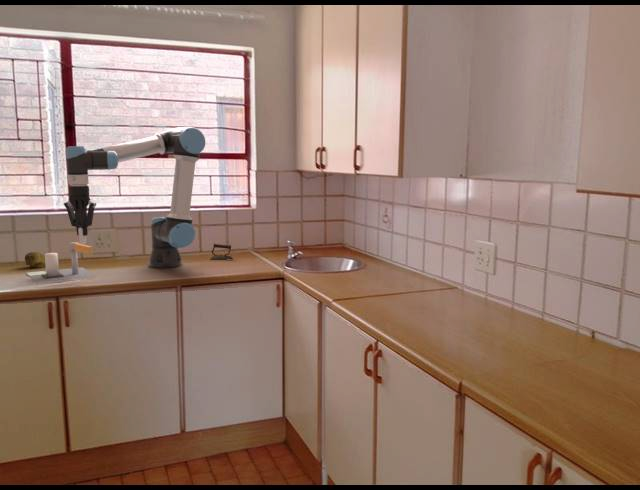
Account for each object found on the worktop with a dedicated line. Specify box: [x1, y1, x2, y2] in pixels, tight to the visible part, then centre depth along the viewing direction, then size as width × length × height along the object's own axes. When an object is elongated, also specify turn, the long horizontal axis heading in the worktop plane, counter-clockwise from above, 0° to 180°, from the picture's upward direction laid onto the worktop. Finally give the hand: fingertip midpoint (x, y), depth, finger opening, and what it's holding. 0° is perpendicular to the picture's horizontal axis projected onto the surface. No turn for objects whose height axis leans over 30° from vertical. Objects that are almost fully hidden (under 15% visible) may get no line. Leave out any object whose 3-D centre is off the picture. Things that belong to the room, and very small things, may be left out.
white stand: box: [25, 251, 96, 285], centre depth 237 cm, size 23×21×11 cm
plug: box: [44, 252, 60, 276], centre depth 234 cm, size 5×5×9 cm
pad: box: [26, 270, 46, 278], centre depth 238 cm, size 7×7×1 cm
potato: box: [24, 251, 46, 269], centre depth 253 cm, size 8×13×8 cm, turn 129°
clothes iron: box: [209, 243, 234, 261], centre depth 281 cm, size 7×11×10 cm, turn 85°
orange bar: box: [68, 241, 94, 255], centre depth 234 cm, size 16×4×3 cm, turn 50°
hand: (83, 243), depth 227 cm, fingers closed
